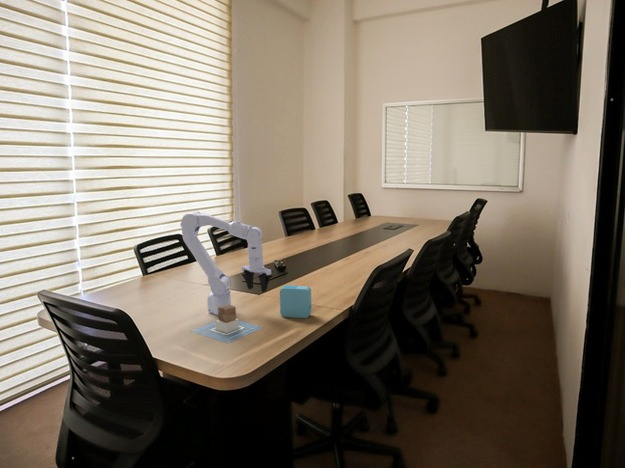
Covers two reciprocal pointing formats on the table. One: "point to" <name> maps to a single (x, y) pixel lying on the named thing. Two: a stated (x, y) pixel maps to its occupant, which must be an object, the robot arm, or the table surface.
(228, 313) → the walnut block
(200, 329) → the blueprint board
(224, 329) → the base block
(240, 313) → the table surface
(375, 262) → the table surface
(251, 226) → the robot arm
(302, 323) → the table surface
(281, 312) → the data package
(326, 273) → the table surface
